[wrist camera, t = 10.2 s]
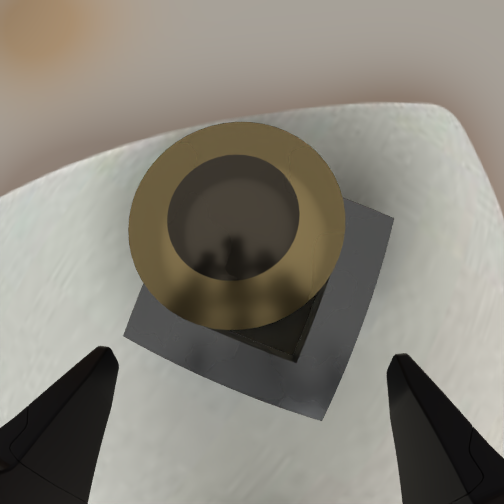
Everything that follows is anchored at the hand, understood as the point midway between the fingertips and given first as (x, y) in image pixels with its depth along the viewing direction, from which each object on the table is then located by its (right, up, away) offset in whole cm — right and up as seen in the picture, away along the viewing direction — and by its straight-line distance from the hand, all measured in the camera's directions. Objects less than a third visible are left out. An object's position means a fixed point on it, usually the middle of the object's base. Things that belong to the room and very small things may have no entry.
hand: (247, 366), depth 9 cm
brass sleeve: (+1, +1, +10) cm, 10 cm away
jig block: (+1, +1, +10) cm, 10 cm away
